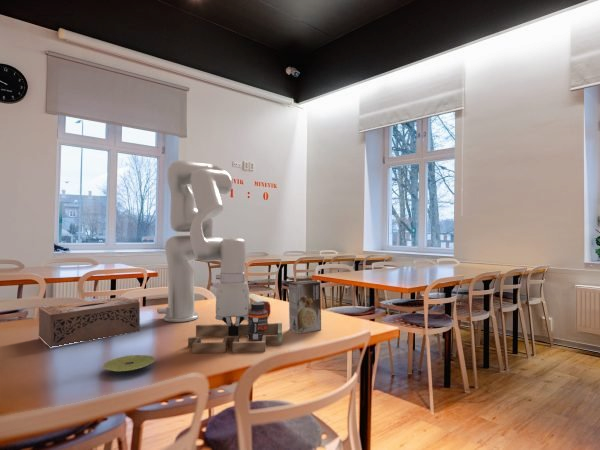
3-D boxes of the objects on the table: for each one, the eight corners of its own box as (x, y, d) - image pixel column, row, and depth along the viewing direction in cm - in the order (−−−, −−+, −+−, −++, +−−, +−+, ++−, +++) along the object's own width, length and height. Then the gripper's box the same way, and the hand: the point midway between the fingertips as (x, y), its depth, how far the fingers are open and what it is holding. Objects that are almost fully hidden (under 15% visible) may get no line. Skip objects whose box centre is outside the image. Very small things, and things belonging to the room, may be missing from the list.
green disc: (127, 360, 100) (127, 352, 100) (163, 364, 97) (163, 356, 97) (92, 376, 89) (92, 367, 89) (131, 381, 86) (131, 372, 86)
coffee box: (312, 325, 133) (311, 279, 133) (321, 330, 127) (321, 282, 128) (288, 329, 129) (288, 281, 129) (297, 333, 123) (296, 284, 123)
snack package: (242, 308, 164) (242, 292, 164) (257, 307, 166) (257, 291, 166) (254, 319, 144) (254, 301, 144) (271, 318, 146) (271, 300, 146)
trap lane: (183, 353, 105) (183, 340, 105) (196, 335, 122) (196, 324, 122) (282, 350, 106) (282, 338, 106) (281, 333, 123) (281, 322, 123)
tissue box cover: (50, 349, 110) (50, 314, 110) (39, 339, 120) (38, 307, 121) (139, 331, 129) (139, 302, 129) (123, 324, 139) (123, 296, 139)
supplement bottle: (259, 344, 112) (258, 306, 112) (244, 341, 116) (243, 304, 116) (271, 339, 117) (271, 302, 117) (256, 336, 121) (256, 300, 121)
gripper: (206, 280, 113) (206, 342, 113) (257, 279, 114) (257, 341, 114) (210, 277, 120) (210, 335, 120) (258, 276, 121) (258, 334, 121)
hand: (233, 338), depth 117 cm, fingers closed
